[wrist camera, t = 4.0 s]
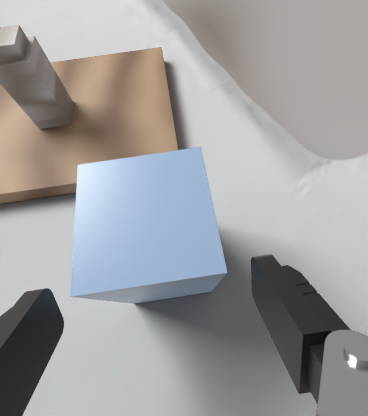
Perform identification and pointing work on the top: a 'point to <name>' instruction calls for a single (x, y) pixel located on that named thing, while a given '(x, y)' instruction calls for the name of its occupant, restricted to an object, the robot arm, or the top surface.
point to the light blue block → (145, 229)
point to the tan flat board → (75, 114)
